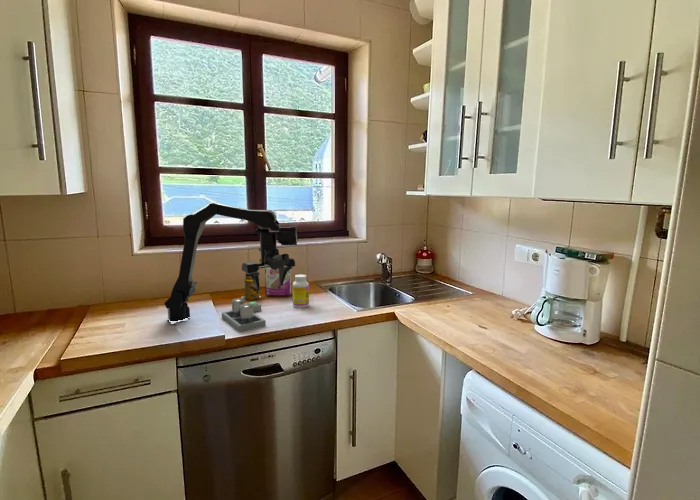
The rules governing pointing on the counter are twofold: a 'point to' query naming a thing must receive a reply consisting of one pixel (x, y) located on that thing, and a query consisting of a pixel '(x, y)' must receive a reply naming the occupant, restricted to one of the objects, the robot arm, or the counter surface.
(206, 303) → the counter surface
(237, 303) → the seated billet
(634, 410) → the counter surface
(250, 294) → the condiment
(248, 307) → the billet
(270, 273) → the candy bar box
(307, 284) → the supplement bottle
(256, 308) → the button collar
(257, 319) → the grey divided tray
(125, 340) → the counter surface
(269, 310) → the counter surface
